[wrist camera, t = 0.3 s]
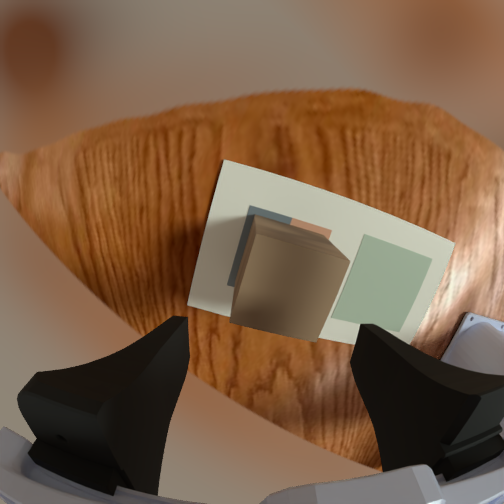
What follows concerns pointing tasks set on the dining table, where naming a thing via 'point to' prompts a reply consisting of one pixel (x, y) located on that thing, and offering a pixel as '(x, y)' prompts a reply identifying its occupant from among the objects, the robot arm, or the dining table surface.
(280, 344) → the dining table surface
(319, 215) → the placemat
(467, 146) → the dining table surface
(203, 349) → the dining table surface
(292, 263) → the walnut block
